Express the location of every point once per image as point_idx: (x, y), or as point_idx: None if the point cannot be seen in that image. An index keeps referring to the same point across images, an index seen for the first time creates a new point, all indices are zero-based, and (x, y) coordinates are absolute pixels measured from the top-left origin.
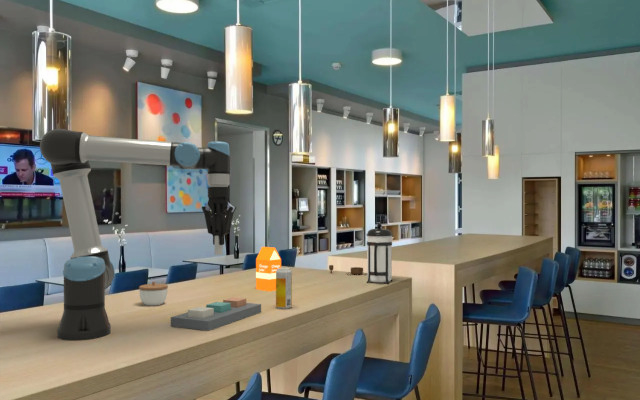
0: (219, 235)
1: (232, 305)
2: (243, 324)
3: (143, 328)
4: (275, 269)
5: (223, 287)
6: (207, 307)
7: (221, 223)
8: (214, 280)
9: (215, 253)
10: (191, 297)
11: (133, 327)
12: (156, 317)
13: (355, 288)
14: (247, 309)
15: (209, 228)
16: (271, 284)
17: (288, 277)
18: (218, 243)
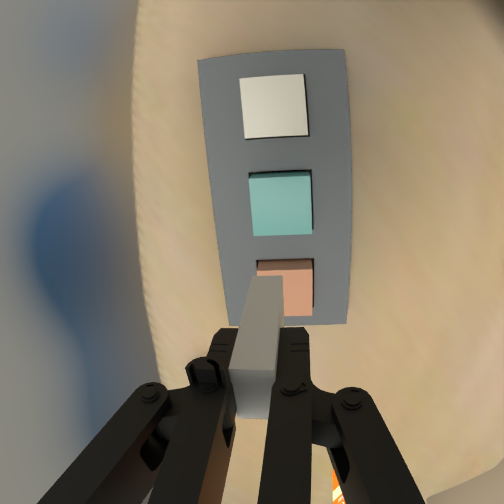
0: (195, 359)
1: (275, 263)
2: (175, 172)
3: (385, 12)
4: (339, 501)
5: (451, 447)
6: (304, 174)
7: (157, 481)
8: (480, 464)
9: (273, 278)
10: (483, 366)
11: (415, 14)
12: (454, 137)
13: (224, 496)
14: (220, 259)
15: (352, 433)
16: None
17: None
18: (241, 327)
